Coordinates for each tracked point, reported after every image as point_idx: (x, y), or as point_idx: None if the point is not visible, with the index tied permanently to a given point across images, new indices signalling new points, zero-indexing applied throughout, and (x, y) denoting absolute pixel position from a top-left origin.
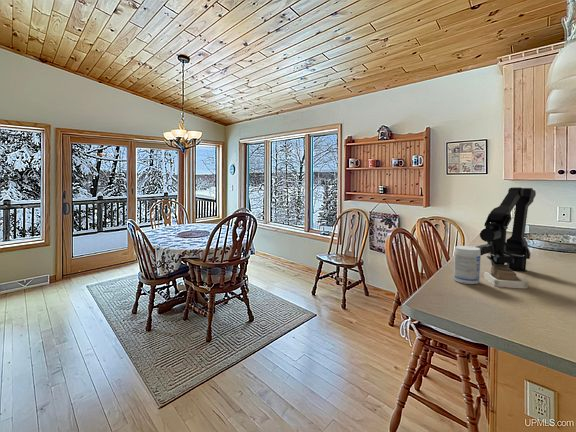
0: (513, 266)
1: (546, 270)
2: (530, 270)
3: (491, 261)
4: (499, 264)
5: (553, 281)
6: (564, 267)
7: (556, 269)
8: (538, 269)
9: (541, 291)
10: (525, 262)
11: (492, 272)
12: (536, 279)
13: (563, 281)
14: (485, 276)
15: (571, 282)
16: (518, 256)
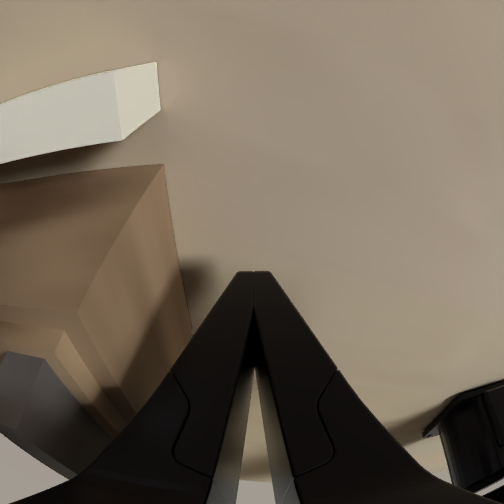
0: (472, 418)
1: (420, 457)
2: (436, 436)
3: (357, 479)
4: (60, 470)
5: (243, 464)
6: (437, 468)
7: (424, 465)
8: (440, 446)
9: None
10: (449, 469)
11: (46, 230)
12: (261, 444)
13: (257, 475)
14: (67, 81)
15: (249, 480)
16: (474, 492)
